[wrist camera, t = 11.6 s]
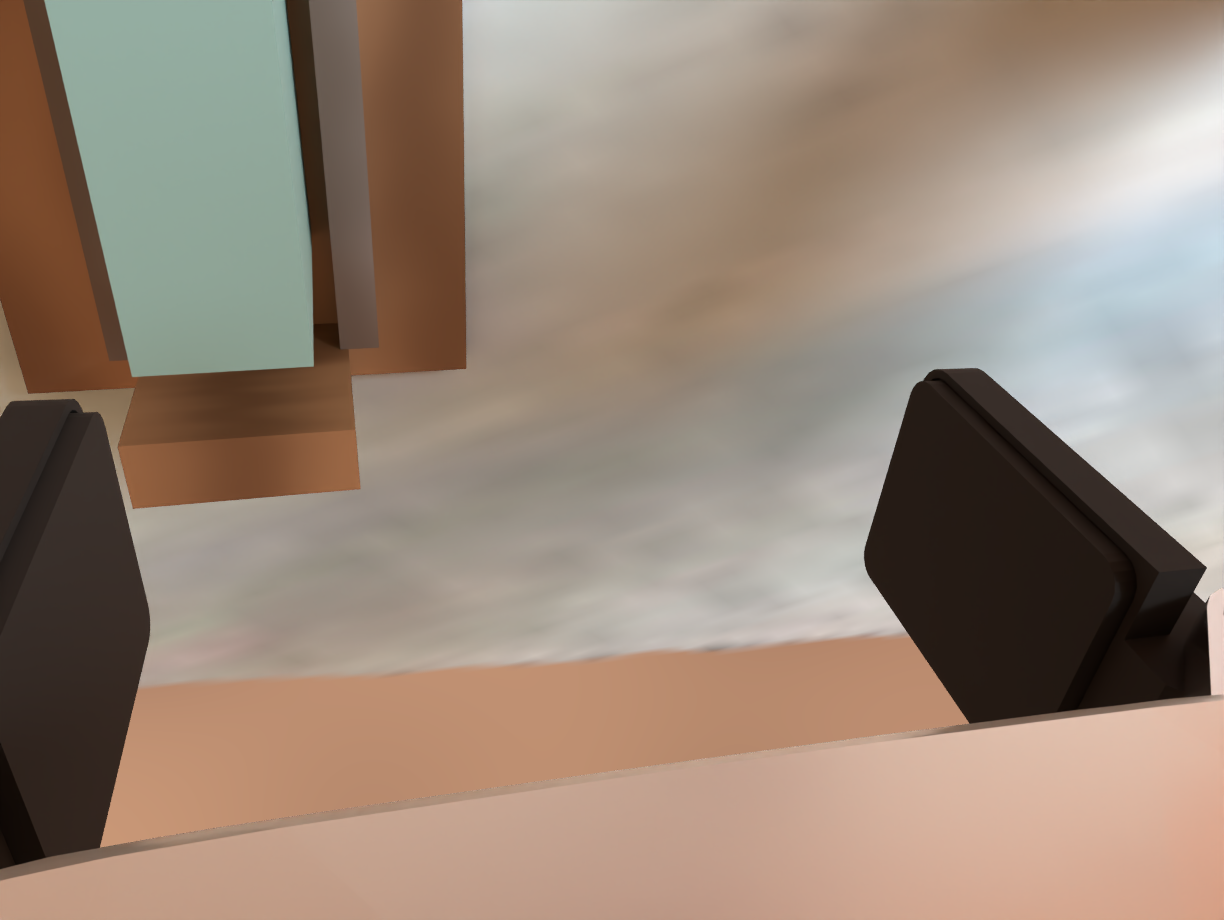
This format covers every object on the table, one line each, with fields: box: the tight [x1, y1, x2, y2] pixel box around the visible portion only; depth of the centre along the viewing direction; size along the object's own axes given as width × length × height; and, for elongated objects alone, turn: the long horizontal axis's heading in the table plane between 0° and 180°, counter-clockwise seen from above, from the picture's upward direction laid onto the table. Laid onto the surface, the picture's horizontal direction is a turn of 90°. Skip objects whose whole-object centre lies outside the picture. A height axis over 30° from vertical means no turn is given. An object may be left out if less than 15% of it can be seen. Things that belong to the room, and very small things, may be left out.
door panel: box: [44, 0, 314, 377], centre depth 23 cm, size 4×10×9 cm, turn 176°
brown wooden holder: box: [0, 0, 466, 509], centre depth 24 cm, size 14×20×8 cm
